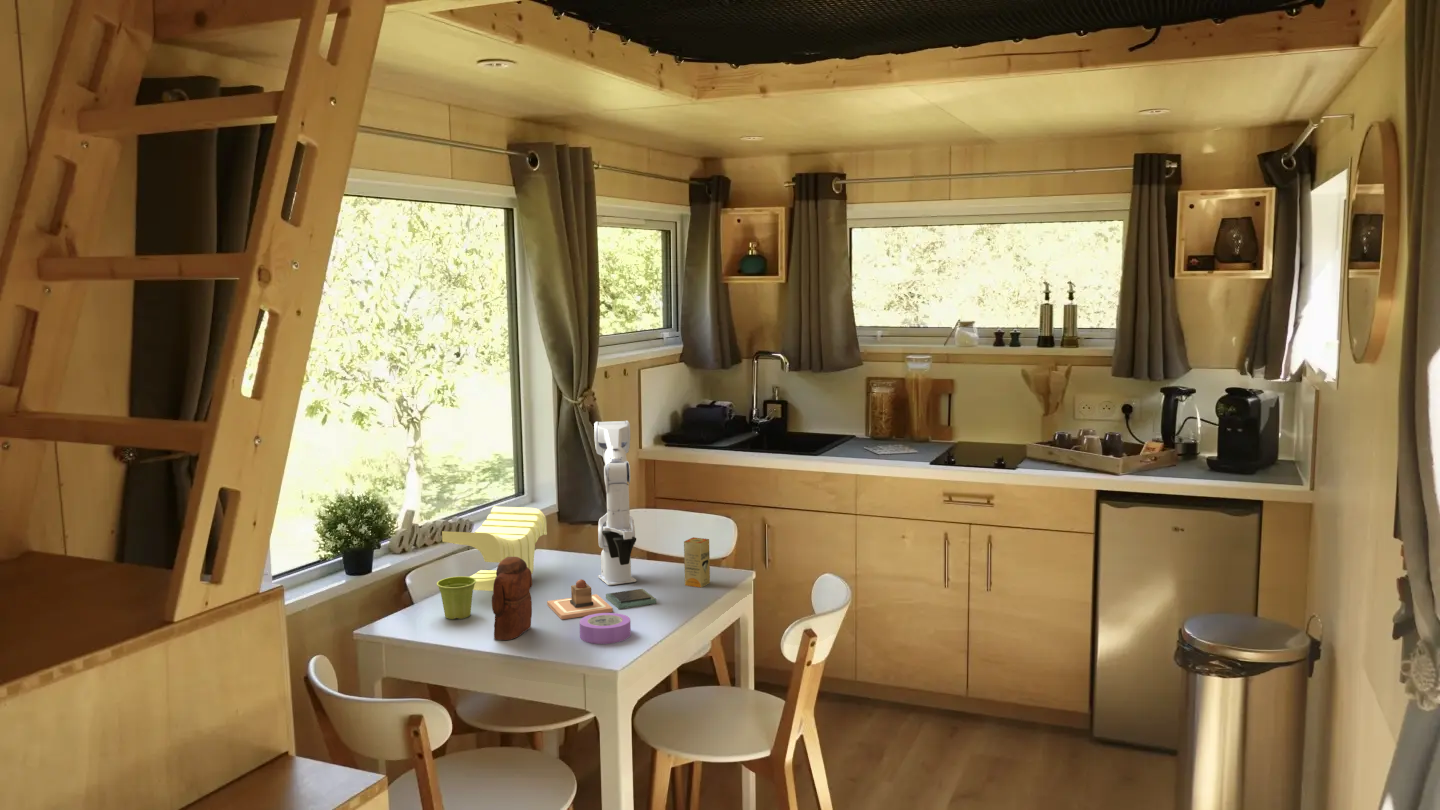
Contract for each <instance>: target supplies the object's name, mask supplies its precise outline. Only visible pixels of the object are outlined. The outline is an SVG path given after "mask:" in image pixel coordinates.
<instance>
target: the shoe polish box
mask: <svg viewBox="0 0 1440 810" xmlns="http://www.w3.org/2000/svg"><path fill="white" fill-rule="evenodd" d="M683 556H684V557H683V559H684V560H683V561H684V565H683V566H684V586H685V587H686V586H687V587H695V588H699V589H700V588H703V587H706V586H707V585H708V584H710V583H711V565H710V564H711V563H710V562H711V561H710V539H709V538H702V537H691V538H688V539H686V540H685V541H683Z"/></svg>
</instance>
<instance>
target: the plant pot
mask: <svg viewBox="0 0 1440 810" xmlns="http://www.w3.org/2000/svg"><path fill="white" fill-rule="evenodd" d="M475 583H476V579H475V578H472V577H470V576H468V575H467V576H449V577H446V578H443V579H442V578H441V579H440V580H438V581H437V582H436V586H437V587H438V589H439V592H440V594H441V601H442V607H443V612H444V616H445V618H446V619H448V620H455V619H460V620H463V619H466V618H468V617H470V616H471V613H472V604H473V603H472V602H473V593H474V590H473V589H474V585H475Z"/></svg>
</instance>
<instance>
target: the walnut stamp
mask: <svg viewBox="0 0 1440 810" xmlns="http://www.w3.org/2000/svg"><path fill="white" fill-rule="evenodd" d="M570 587H571V588H570V589H571V590H570V591H571V595H570V596H571V597H570V598H572V600H570V603H571V604H572V605H573V606H574V607H575V608H579V607H586V606H593V602H592V595H593V594H592V593H593V592H592V586H590V585H589V584H588V583H587V582H586V581H585V580H584V579H578V580H577V581H575V584H574V585H570Z"/></svg>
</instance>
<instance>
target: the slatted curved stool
mask: <svg viewBox="0 0 1440 810" xmlns="http://www.w3.org/2000/svg"><path fill="white" fill-rule="evenodd" d="M547 534H548V532H547V518H546V516H545V514H544V512H543V511H542V510H541V509H538V508H535V507H521V506H519V507H517V506H493V507H492V508H491V510H490V513H489V514H488V515H487V517H486V520H484V521H483V523H482V524H481V526H479V527H478V528H477V529H476V530H475V531H474V532H467V531H446V530H445V531H444V530H442V531H441V537H442V539H441V540H442V543H448V544H449V543H450V544H456V545H458V546H459V545H461V546H470V547H473V549H476V550H478V552H479V553H480V554H481V556H482V558H483V561H484V562H485V563H498V564H499V563H500V562H501V561H502V560H503V559H505V558H507V557H519V558H521V559H522V560H524V561H525V562H526V565H527V567H528V568H529V569H530V571H531V575H533V572H534V570H535V569H534V567H535V565H534V562H535V551H536V546H535V545H536V544H537V542H538V540H539V538H540V537H542V536H544V535H545V536H547ZM496 571H497V569H494V570H492V569H491V570H487V569H484V570H483V569H480V570H479V571H477V572H476V573H474V574H472V575H469V577H472V578H475V579H476V583H475V585H474V589H473V591H486V592H488V591H489V592H493V586H494V581H495V578H496V577H497V576H496Z"/></svg>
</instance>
